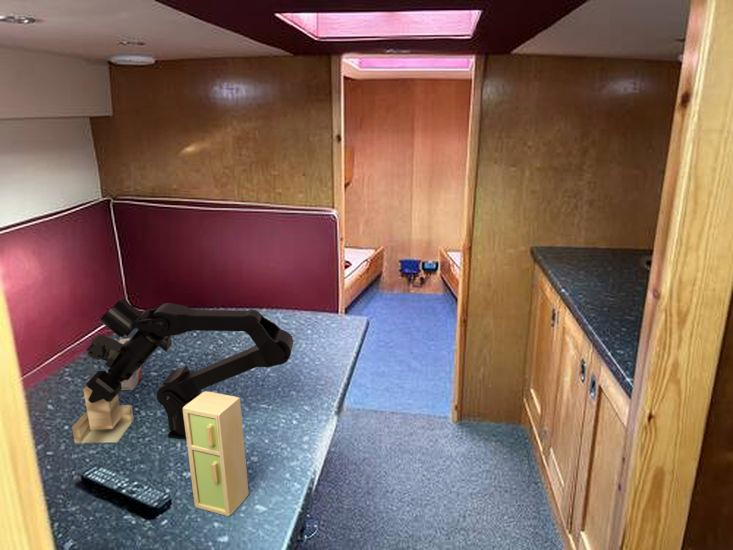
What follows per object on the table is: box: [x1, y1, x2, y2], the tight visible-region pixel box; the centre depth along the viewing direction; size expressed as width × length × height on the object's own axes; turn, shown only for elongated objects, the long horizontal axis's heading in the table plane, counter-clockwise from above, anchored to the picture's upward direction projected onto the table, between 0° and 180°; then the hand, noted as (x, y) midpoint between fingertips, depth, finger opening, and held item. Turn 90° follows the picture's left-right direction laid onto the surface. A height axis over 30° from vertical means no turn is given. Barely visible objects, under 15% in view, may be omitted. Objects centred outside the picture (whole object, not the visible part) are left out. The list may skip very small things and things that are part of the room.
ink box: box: [118, 337, 143, 391], centre depth 150 cm, size 9×5×12 cm, turn 6°
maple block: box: [83, 385, 121, 430], centre depth 126 cm, size 5×5×10 cm
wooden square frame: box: [71, 404, 134, 444], centre depth 128 cm, size 10×10×4 cm
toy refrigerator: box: [183, 390, 250, 517], centre depth 102 cm, size 8×7×21 cm
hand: (95, 395), depth 126 cm, fingers closed on maple block, 5 cm apart
